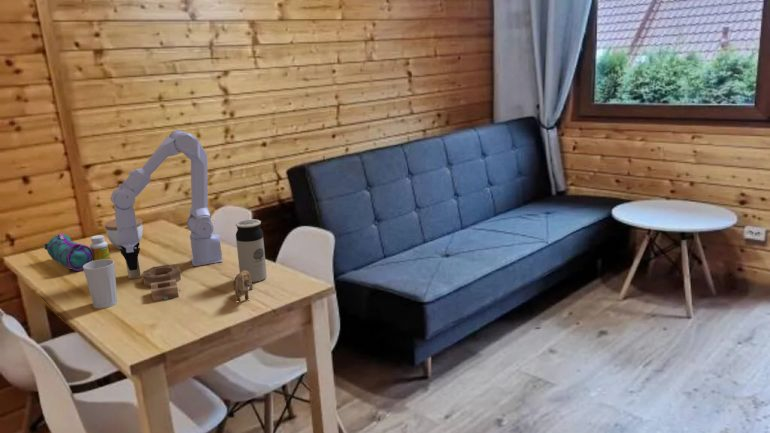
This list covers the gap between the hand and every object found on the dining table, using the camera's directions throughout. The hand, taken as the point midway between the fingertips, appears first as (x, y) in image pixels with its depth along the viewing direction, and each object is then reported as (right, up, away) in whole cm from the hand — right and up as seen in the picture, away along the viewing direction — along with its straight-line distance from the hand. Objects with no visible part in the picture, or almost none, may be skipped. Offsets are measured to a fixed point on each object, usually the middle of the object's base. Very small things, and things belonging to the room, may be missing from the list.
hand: (133, 267), depth 190 cm
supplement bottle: (-16, 0, +13) cm, 21 cm away
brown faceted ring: (+11, -4, -3) cm, 12 cm away
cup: (0, -9, -20) cm, 22 cm away
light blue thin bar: (+15, -6, -14) cm, 21 cm away
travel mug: (+39, -3, -5) cm, 40 cm away
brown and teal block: (0, -3, +1) cm, 3 cm away
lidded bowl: (-16, +5, +32) cm, 36 cm away
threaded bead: (+16, -7, -15) cm, 23 cm away
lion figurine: (+40, -7, -18) cm, 45 cm away
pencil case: (-27, 0, +14) cm, 30 cm away
